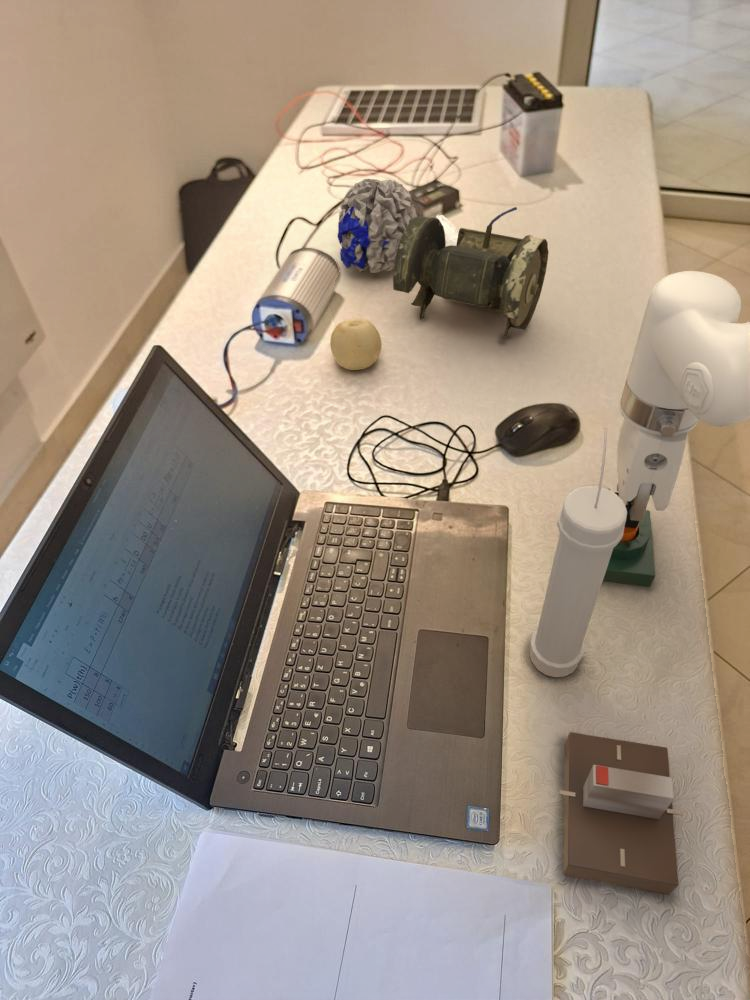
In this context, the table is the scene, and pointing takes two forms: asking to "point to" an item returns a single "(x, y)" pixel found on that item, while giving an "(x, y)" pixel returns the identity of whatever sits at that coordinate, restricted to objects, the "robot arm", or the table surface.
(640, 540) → the button box
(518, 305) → the bench grinder
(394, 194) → the educational model
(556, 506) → the table surface
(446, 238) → the bird figurine
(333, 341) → the apple
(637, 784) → the rod knob
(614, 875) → the panel
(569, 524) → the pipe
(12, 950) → the table surface
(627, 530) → the button
